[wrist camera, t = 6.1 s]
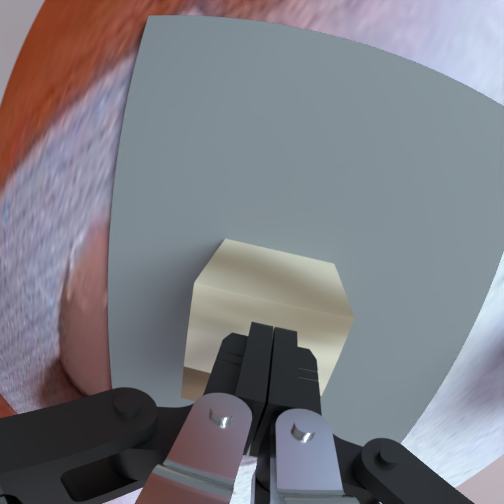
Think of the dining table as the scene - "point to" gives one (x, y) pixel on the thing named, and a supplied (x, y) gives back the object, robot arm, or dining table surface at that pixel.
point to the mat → (305, 202)
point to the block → (264, 307)
